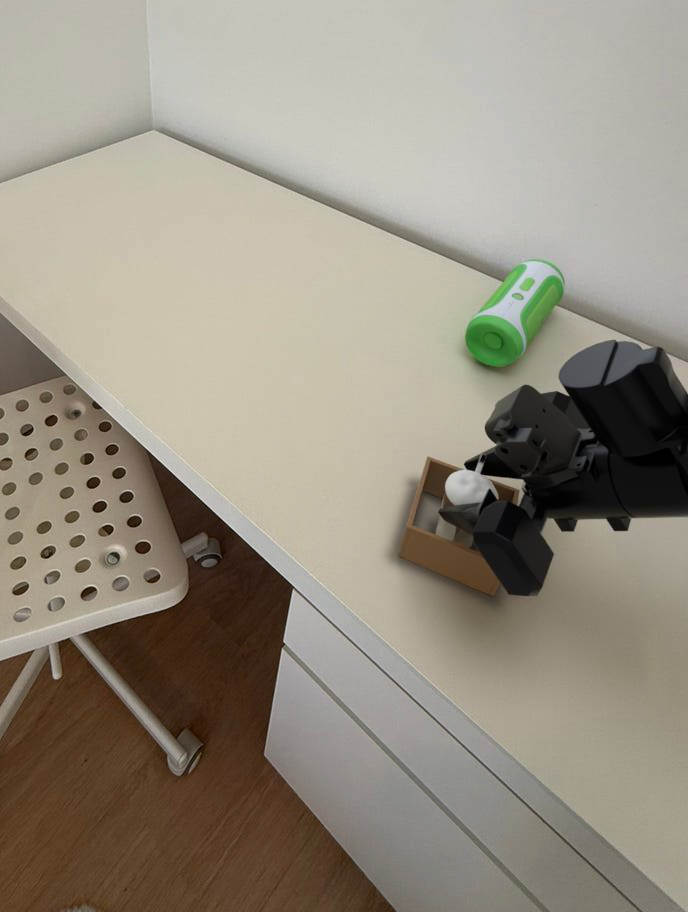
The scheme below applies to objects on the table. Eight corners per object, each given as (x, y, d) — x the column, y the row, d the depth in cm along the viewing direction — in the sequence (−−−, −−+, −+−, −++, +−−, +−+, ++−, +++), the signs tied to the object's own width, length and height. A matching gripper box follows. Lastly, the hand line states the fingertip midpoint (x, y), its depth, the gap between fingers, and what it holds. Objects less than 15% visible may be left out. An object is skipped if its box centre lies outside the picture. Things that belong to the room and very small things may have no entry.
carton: (506, 519, 67) (520, 490, 64) (494, 597, 61) (509, 568, 58) (418, 485, 71) (427, 455, 68) (397, 555, 64) (406, 526, 61)
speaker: (510, 381, 83) (528, 336, 78) (454, 354, 86) (468, 310, 82) (558, 311, 93) (576, 267, 89) (506, 289, 97) (521, 247, 92)
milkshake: (482, 526, 67) (510, 464, 61) (470, 571, 63) (497, 509, 57) (437, 506, 69) (459, 444, 63) (422, 548, 65) (444, 486, 59)
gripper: (601, 325, 56) (445, 363, 68) (538, 478, 44) (362, 491, 56) (668, 432, 57) (503, 450, 69) (624, 609, 45) (433, 594, 57)
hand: (454, 490), depth 63 cm, fingers open, 6 cm apart
